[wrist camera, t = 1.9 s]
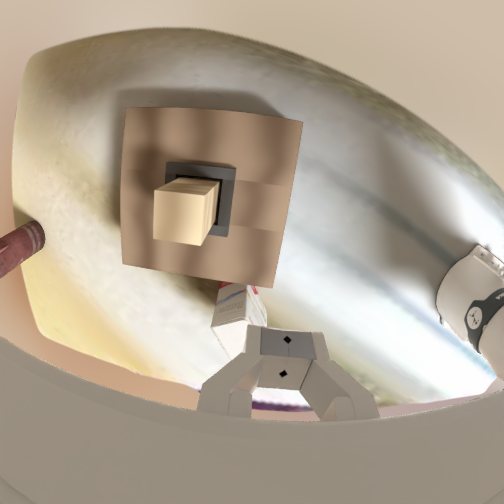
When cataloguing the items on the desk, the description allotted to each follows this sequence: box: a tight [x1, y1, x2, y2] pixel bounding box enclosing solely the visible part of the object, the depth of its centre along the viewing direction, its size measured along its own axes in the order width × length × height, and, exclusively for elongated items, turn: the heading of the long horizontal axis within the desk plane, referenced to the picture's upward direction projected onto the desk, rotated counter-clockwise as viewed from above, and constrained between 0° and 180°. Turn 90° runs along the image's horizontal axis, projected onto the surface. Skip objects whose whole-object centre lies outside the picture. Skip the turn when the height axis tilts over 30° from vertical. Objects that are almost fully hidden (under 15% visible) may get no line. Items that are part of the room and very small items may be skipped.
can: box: [0, 221, 45, 278], centre depth 35 cm, size 6×6×14 cm
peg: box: [153, 176, 221, 246], centre depth 26 cm, size 4×4×9 cm
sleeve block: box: [120, 107, 303, 288], centre depth 33 cm, size 20×20×9 cm
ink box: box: [211, 281, 267, 360], centre depth 38 cm, size 9×5×12 cm, turn 21°
